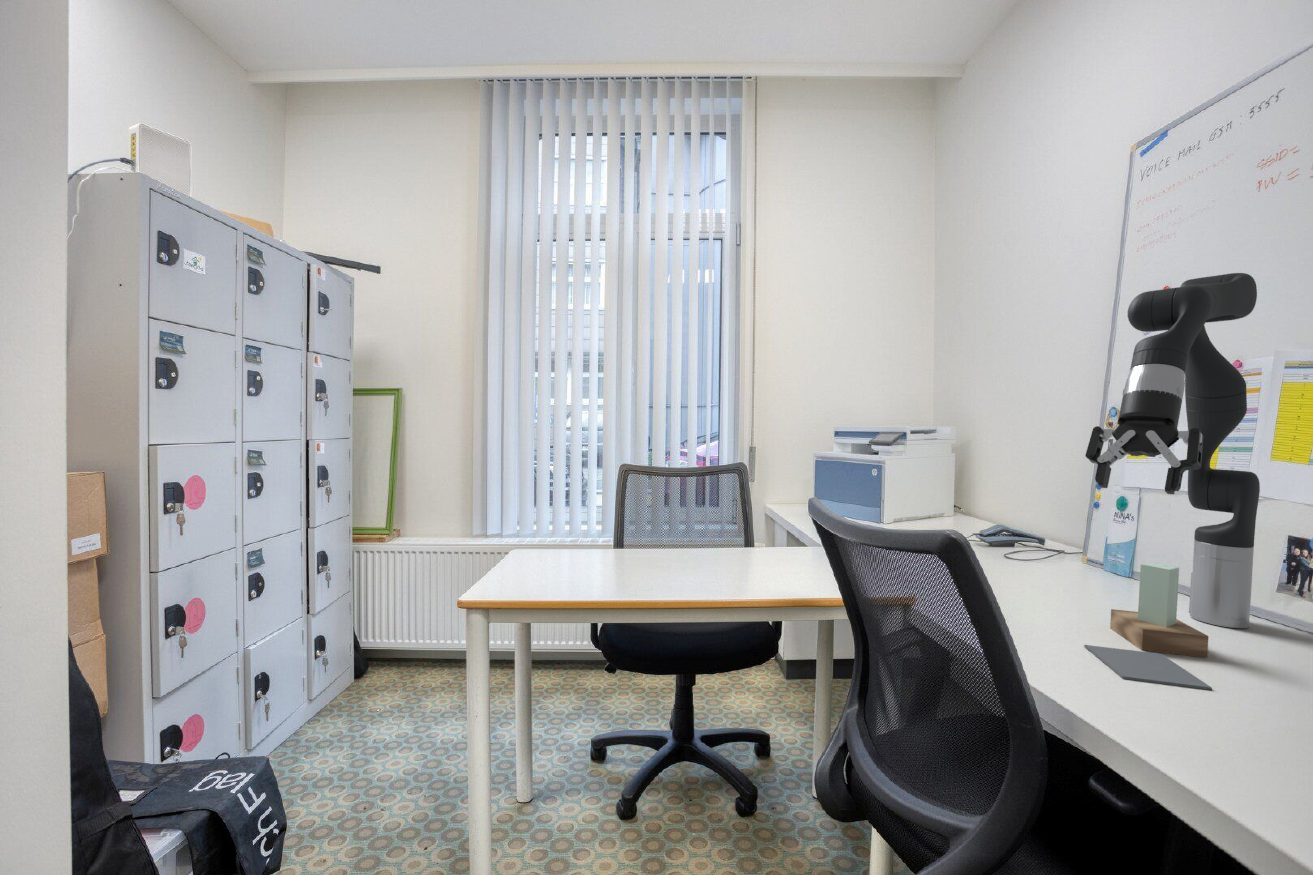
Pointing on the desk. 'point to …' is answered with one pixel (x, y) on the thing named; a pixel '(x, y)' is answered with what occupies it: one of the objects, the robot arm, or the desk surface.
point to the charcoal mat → (1146, 667)
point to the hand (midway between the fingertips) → (1134, 489)
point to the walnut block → (1159, 635)
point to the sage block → (1158, 594)
